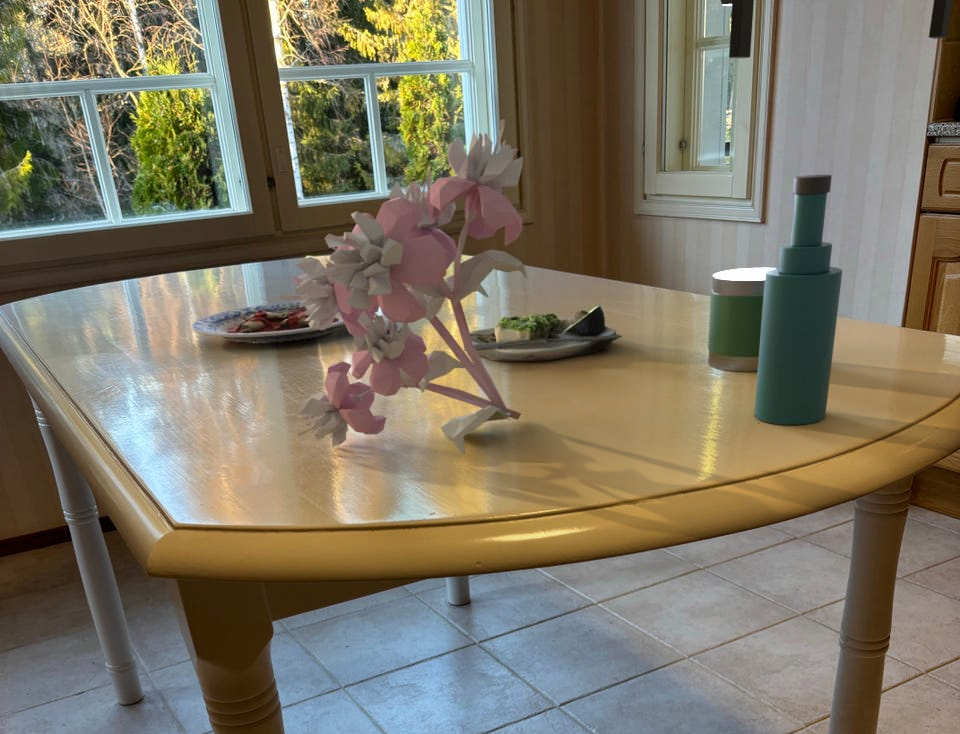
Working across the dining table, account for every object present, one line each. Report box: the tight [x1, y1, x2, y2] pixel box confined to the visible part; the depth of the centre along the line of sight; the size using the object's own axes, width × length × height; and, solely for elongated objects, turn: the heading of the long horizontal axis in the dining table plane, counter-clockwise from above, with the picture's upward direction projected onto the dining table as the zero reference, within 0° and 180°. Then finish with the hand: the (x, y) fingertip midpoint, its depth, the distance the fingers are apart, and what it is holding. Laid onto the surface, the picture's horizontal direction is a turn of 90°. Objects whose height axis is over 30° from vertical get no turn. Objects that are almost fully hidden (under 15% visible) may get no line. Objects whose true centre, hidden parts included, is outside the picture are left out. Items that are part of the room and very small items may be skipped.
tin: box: [707, 267, 777, 373], centre depth 98 cm, size 9×9×9 cm
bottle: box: [753, 174, 843, 426], centre depth 77 cm, size 6×6×19 cm
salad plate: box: [461, 305, 623, 362], centre depth 111 cm, size 19×18×5 cm
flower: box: [277, 118, 528, 455], centre depth 79 cm, size 20×22×25 cm
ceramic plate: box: [190, 300, 346, 344], centre depth 134 cm, size 26×26×3 cm
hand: (833, 48), depth 66 cm, fingers open, 13 cm apart
